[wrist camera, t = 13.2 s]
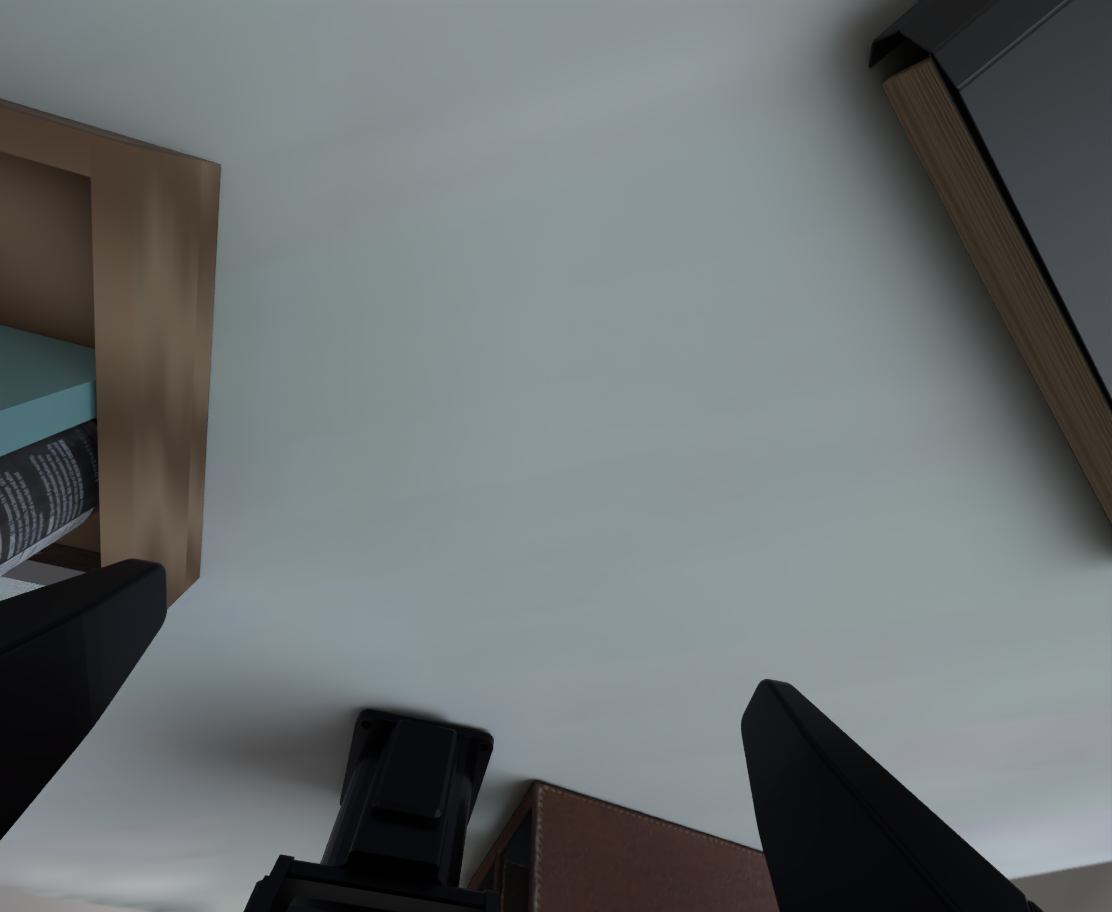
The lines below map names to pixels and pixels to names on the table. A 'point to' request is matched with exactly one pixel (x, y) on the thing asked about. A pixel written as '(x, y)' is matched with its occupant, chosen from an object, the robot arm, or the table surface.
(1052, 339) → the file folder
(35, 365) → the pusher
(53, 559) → the brown shallow box
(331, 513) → the table surface
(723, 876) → the letter holder
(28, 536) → the supplement bottle
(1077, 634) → the table surface
